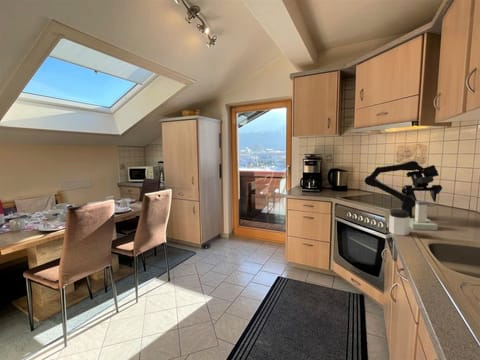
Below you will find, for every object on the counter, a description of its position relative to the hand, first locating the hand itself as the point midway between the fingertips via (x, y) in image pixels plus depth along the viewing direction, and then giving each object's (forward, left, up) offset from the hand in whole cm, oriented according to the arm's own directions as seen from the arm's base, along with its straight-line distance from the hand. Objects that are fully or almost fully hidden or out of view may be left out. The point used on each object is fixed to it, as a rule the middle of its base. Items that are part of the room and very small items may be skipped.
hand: (425, 201), depth 137 cm
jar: (+16, -18, -14) cm, 28 cm away
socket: (+4, -4, -14) cm, 14 cm away
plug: (+4, -4, -13) cm, 14 cm away
